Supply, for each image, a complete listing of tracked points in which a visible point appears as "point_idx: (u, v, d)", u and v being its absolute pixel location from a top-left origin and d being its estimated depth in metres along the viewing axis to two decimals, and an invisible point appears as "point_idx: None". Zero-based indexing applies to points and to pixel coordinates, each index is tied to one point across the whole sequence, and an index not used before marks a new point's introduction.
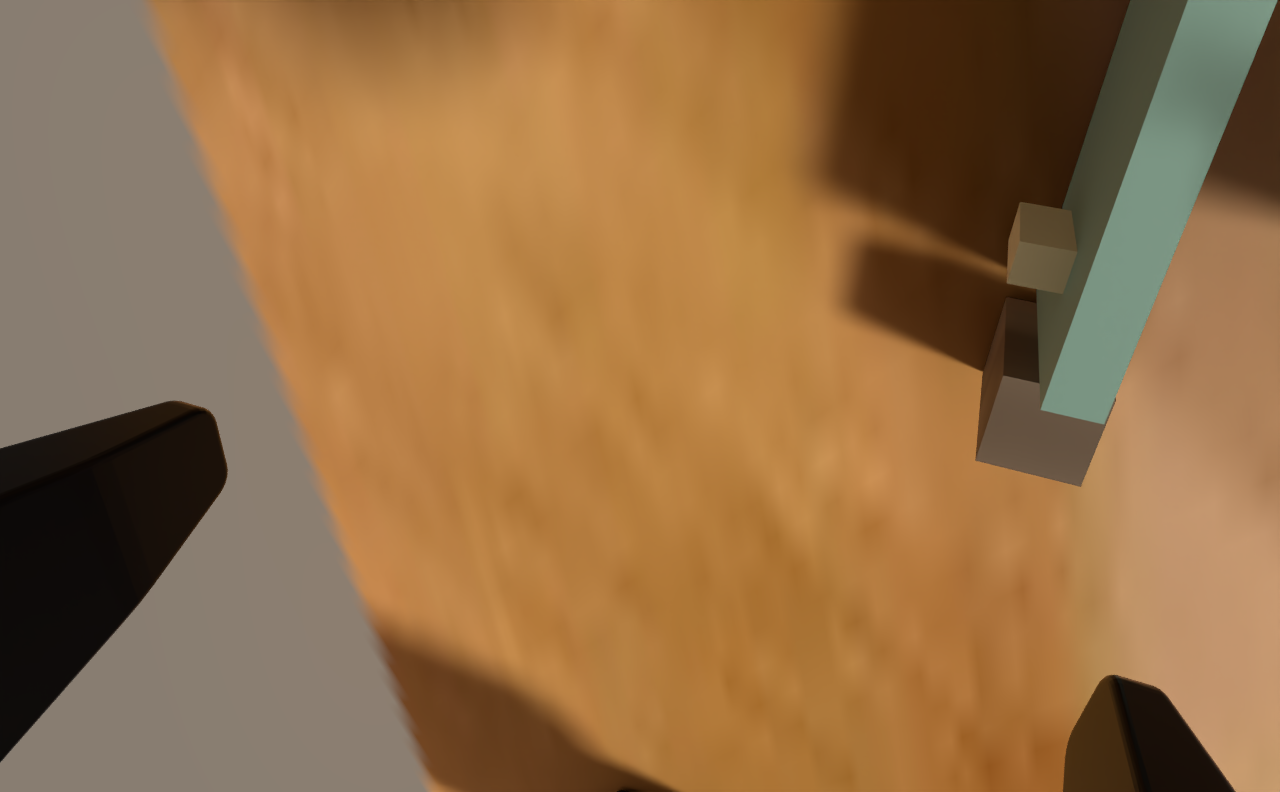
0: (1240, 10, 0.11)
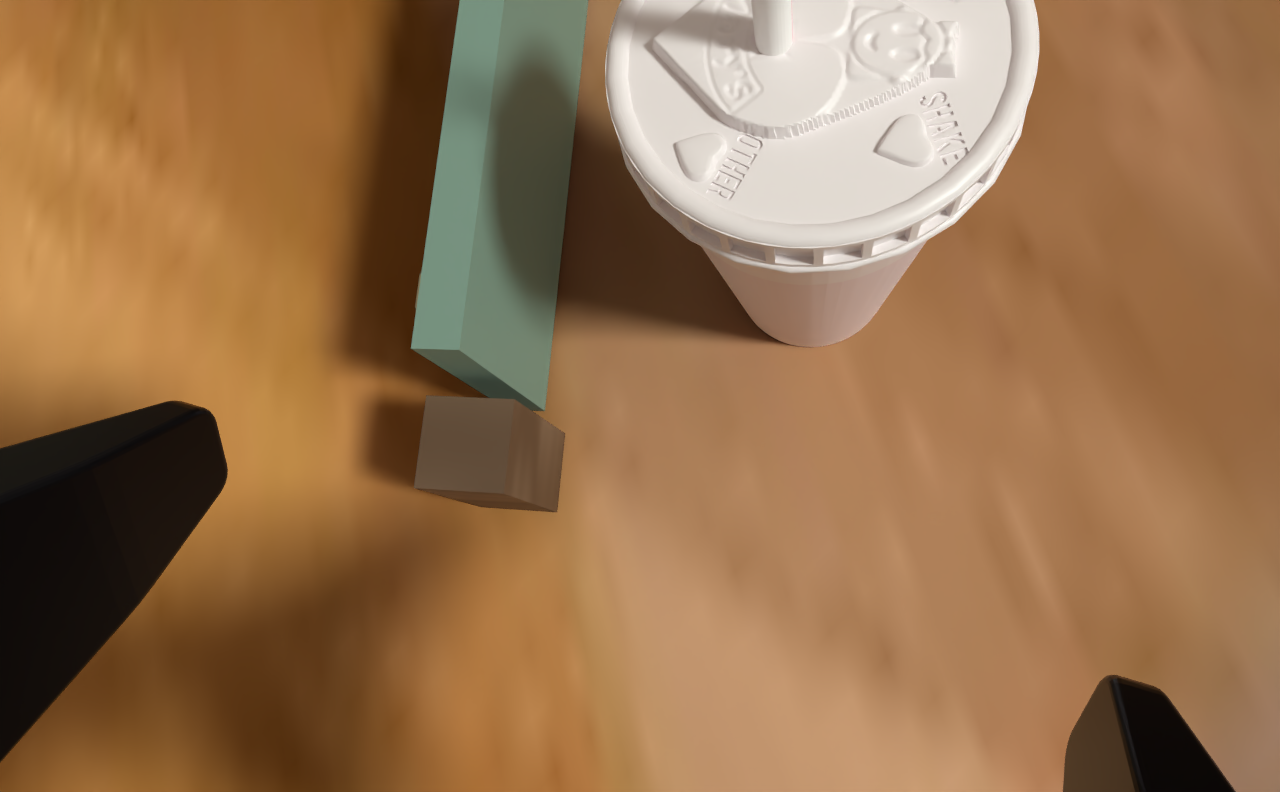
0: (480, 56, 0.18)
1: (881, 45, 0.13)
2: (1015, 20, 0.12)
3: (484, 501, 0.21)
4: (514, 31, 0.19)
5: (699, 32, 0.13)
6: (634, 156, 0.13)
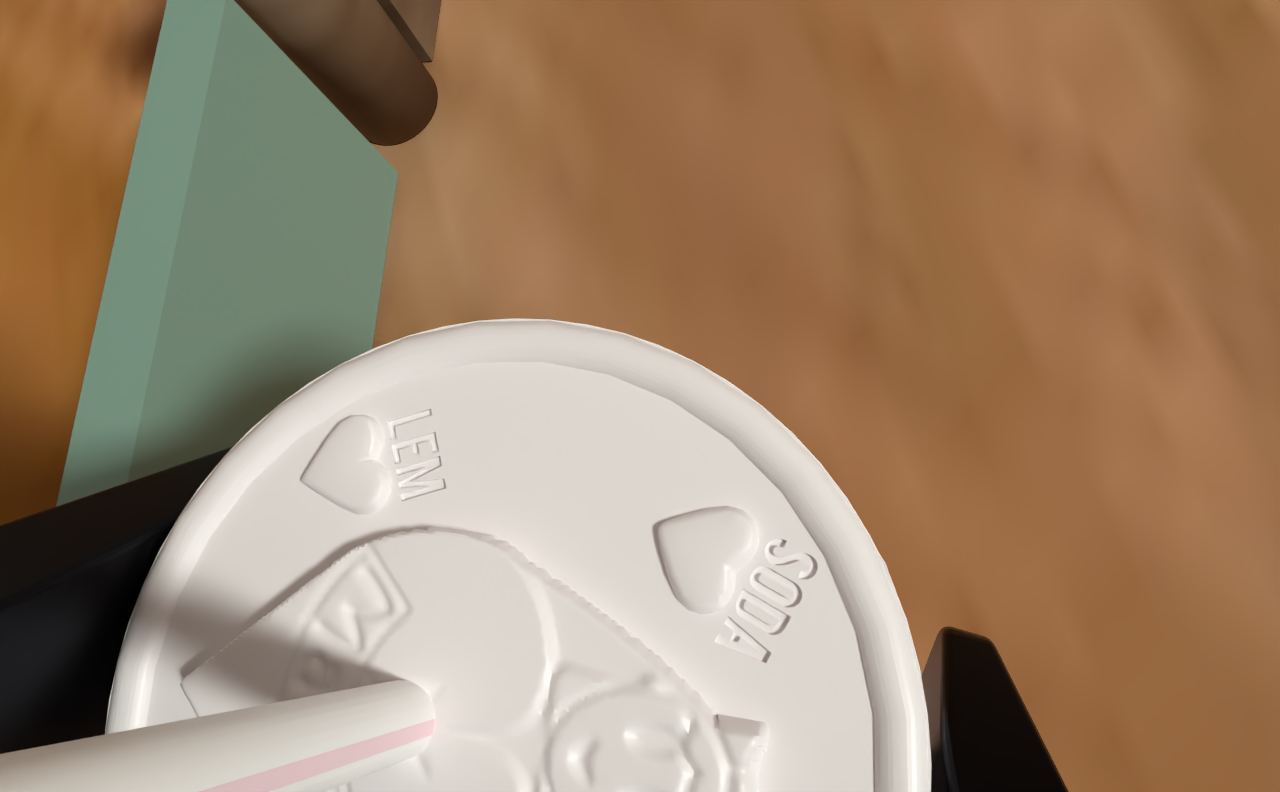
0: (113, 436, 0.12)
1: (602, 775, 0.06)
2: (882, 731, 0.06)
3: None
4: (187, 373, 0.13)
5: (262, 682, 0.07)
6: None
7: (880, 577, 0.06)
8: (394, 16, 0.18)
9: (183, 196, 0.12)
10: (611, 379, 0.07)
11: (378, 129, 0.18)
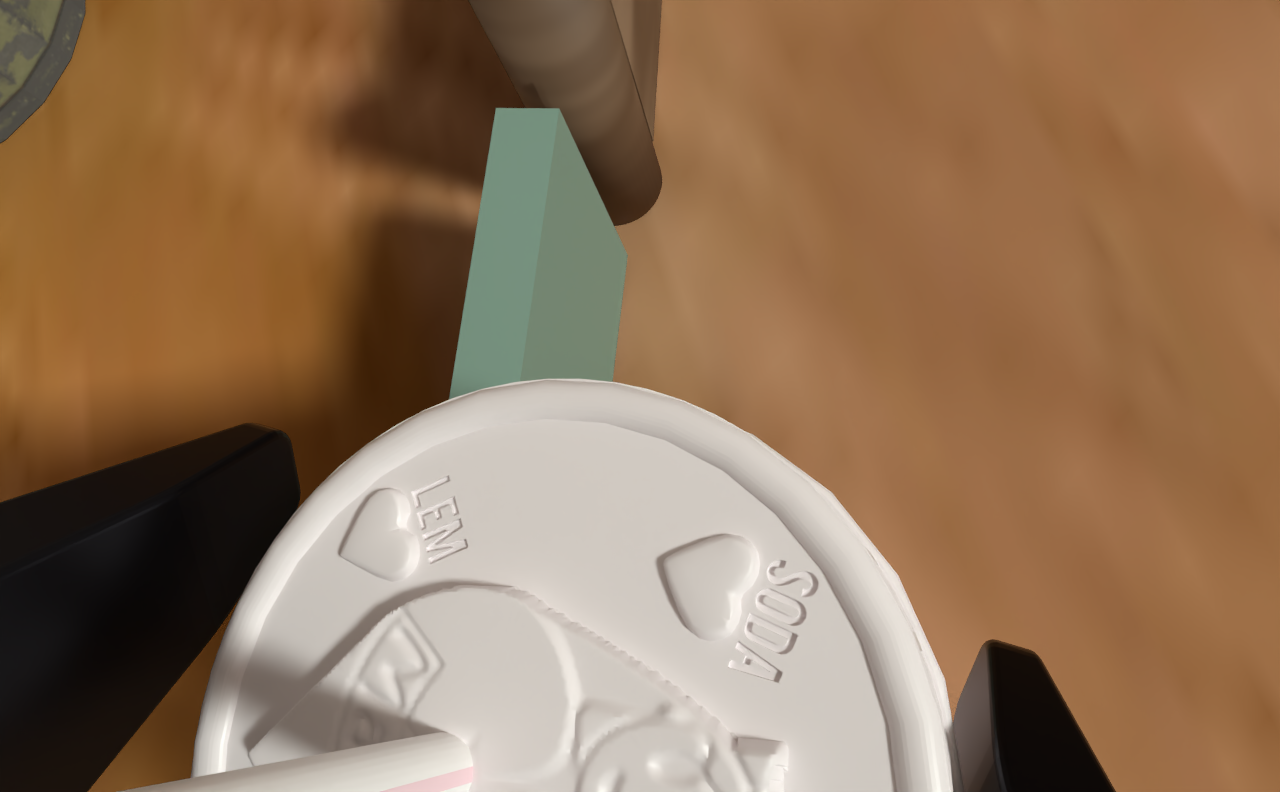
0: None
1: None
2: (897, 739, 0.06)
3: None
4: None
5: (318, 746, 0.07)
6: None
7: (880, 586, 0.06)
8: None
9: (528, 312, 0.13)
10: (607, 427, 0.07)
11: (612, 212, 0.19)
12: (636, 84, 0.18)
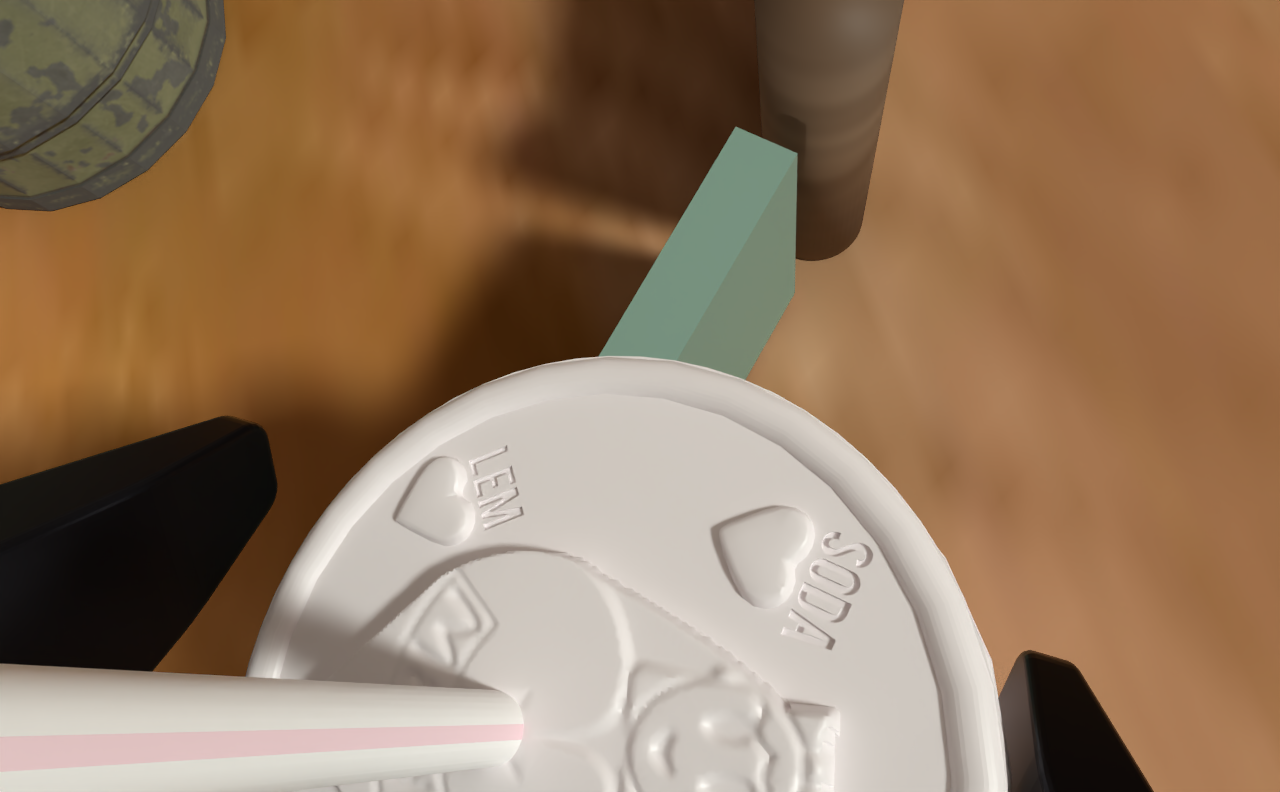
0: None
1: (683, 763, 0.06)
2: (950, 705, 0.06)
3: None
4: None
5: None
6: None
7: (933, 560, 0.06)
8: None
9: (683, 345, 0.12)
10: (666, 402, 0.07)
11: (819, 247, 0.18)
12: None
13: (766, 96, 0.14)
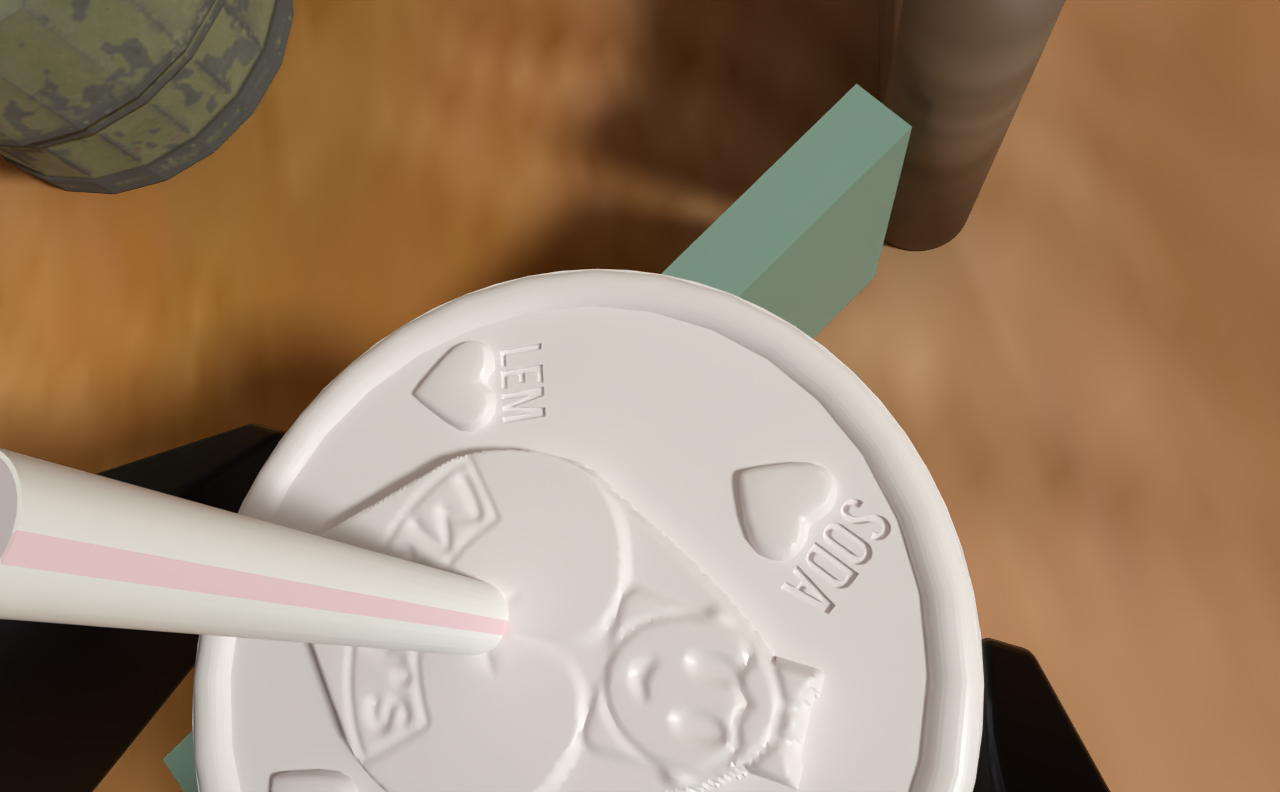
0: None
1: (659, 692, 0.06)
2: (936, 692, 0.06)
3: None
4: None
5: None
6: (200, 784, 0.07)
7: (950, 549, 0.06)
8: None
9: (739, 293, 0.12)
10: (713, 333, 0.07)
11: (927, 238, 0.17)
12: None
13: (905, 76, 0.13)
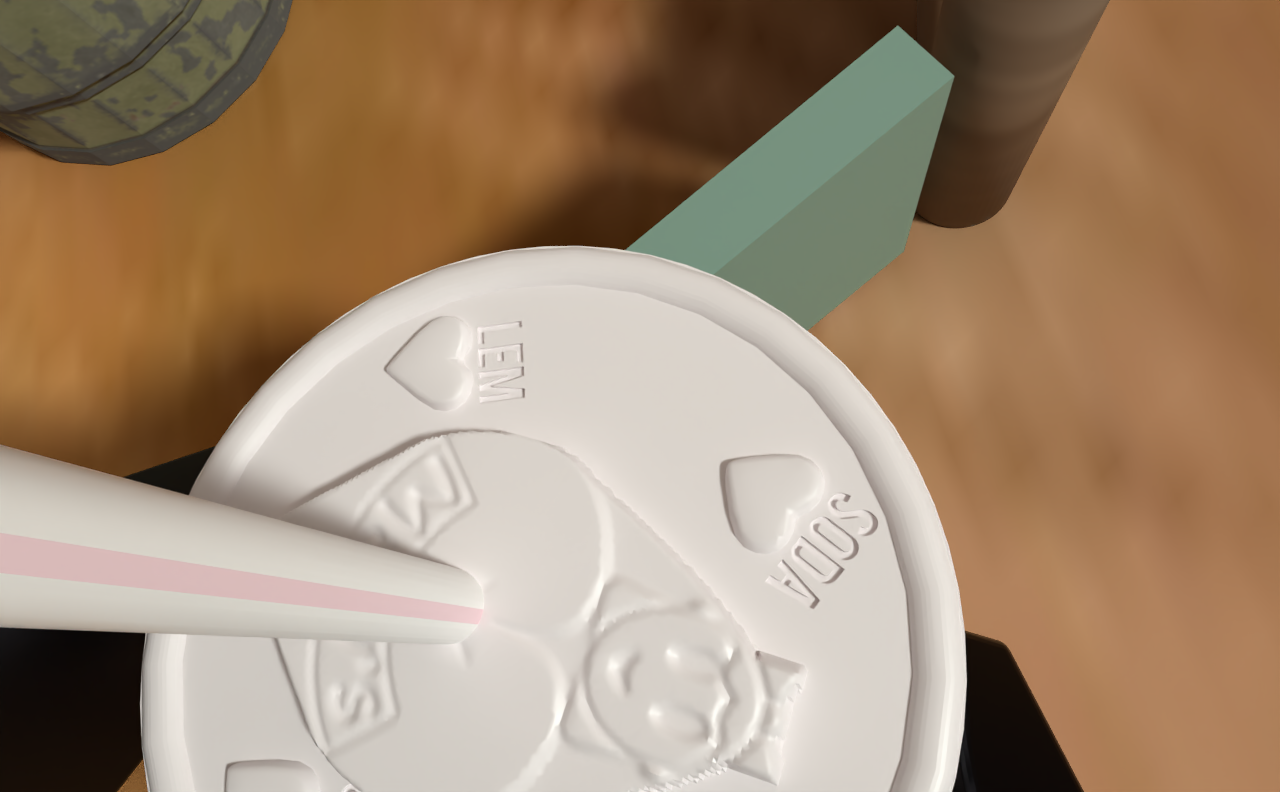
0: None
1: (641, 686, 0.06)
2: (919, 690, 0.06)
3: None
4: None
5: None
6: (149, 773, 0.07)
7: (935, 545, 0.06)
8: None
9: (748, 242, 0.11)
10: (702, 319, 0.07)
11: (968, 213, 0.16)
12: None
13: (956, 28, 0.12)
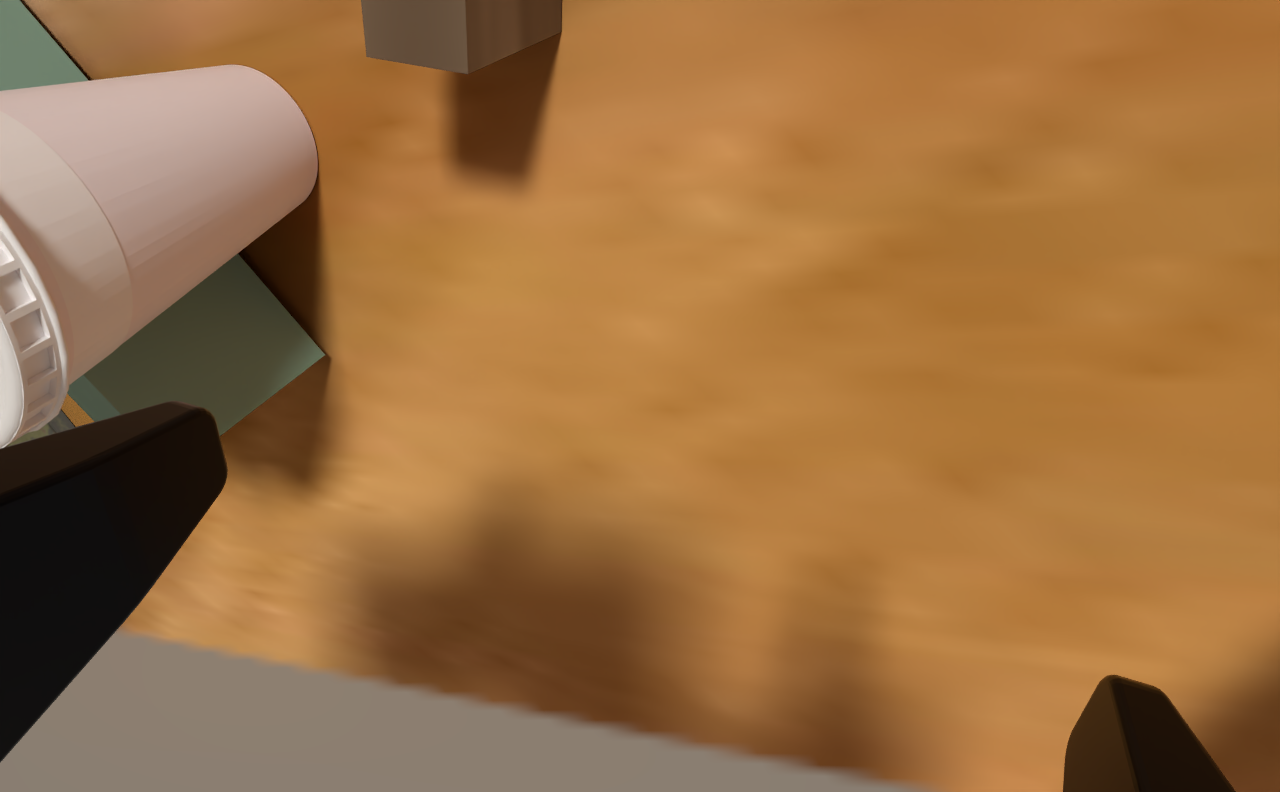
0: None
1: None
2: None
3: (524, 7, 0.17)
4: None
5: None
6: None
7: None
8: None
9: None
10: None
11: None
12: None
13: None
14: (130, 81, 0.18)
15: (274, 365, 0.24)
